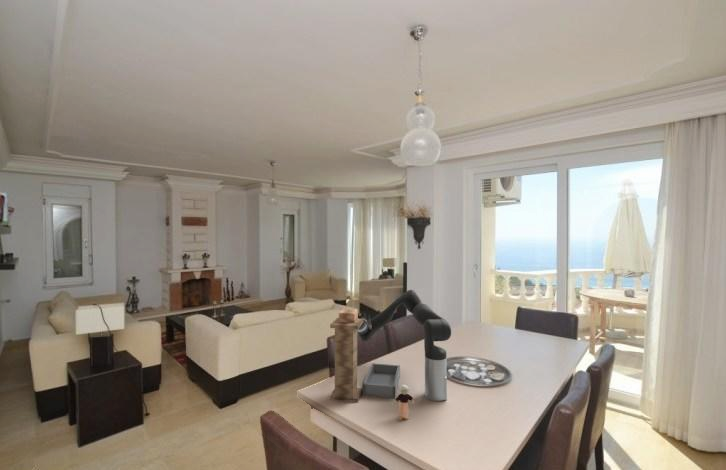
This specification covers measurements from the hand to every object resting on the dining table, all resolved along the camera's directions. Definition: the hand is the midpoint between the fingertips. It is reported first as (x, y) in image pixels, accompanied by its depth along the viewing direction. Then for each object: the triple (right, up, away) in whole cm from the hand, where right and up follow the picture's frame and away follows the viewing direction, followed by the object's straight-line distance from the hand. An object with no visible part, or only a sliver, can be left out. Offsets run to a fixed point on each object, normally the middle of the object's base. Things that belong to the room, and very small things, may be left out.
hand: (353, 313), depth 161 cm
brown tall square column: (-2, -33, -14) cm, 35 cm away
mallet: (-1, -1, -7) cm, 7 cm away
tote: (+14, -33, -4) cm, 36 cm away
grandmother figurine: (+21, -33, -32) cm, 50 cm away
